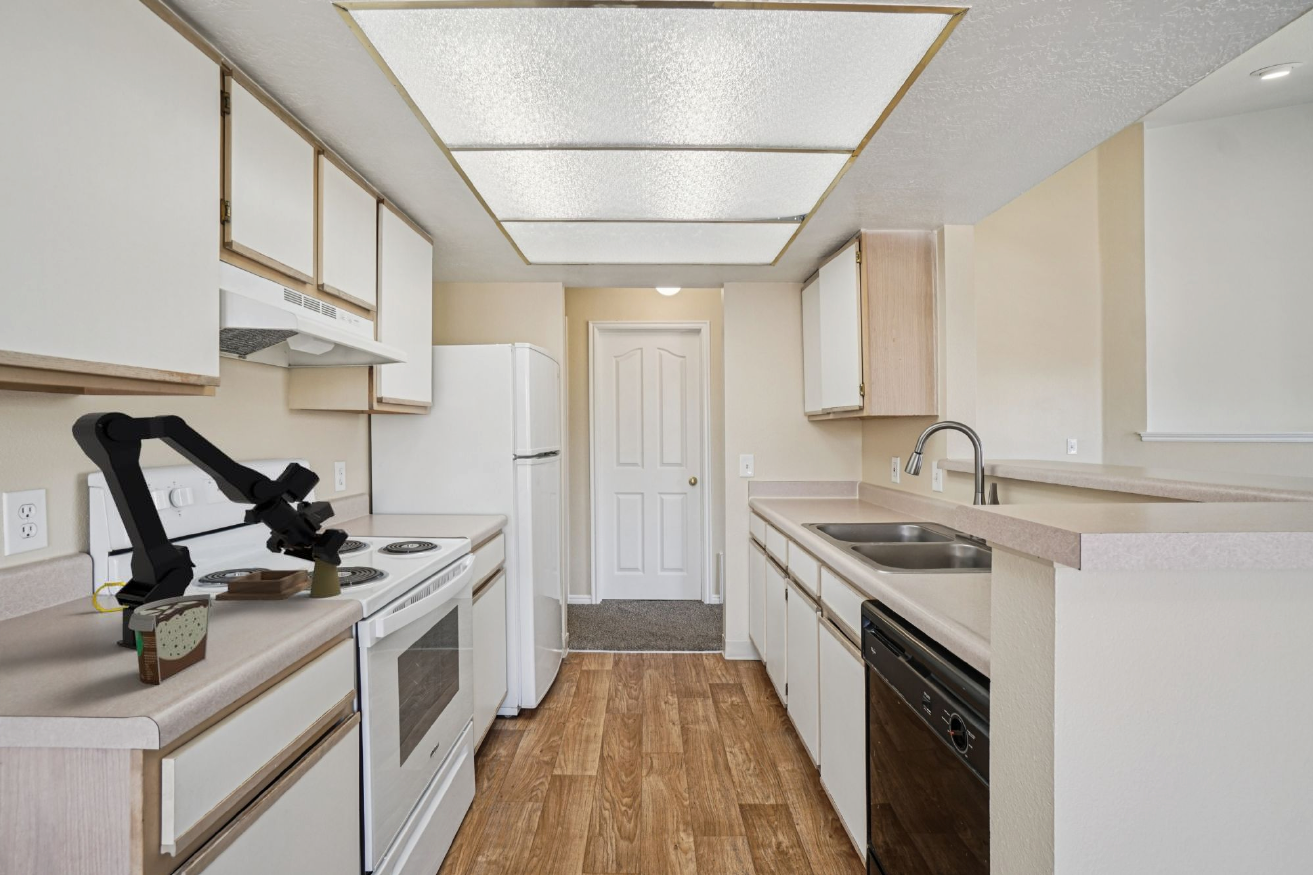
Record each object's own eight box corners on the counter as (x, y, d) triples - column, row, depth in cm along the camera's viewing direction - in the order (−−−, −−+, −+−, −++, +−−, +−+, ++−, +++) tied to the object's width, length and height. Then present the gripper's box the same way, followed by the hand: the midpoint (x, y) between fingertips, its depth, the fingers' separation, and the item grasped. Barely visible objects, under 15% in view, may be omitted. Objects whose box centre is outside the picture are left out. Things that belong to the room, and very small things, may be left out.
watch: (133, 608, 121) (136, 578, 121) (130, 611, 118) (133, 581, 119) (93, 610, 117) (96, 580, 118) (90, 614, 115) (93, 583, 115)
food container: (171, 657, 93) (171, 593, 93) (212, 656, 93) (212, 593, 93) (103, 690, 80) (103, 617, 80) (151, 689, 81) (151, 616, 81)
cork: (303, 596, 128) (303, 546, 128) (326, 589, 134) (326, 541, 134) (325, 598, 127) (325, 547, 127) (347, 591, 132) (347, 542, 132)
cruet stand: (283, 599, 126) (283, 582, 126) (215, 599, 126) (215, 583, 126) (317, 583, 140) (317, 568, 140) (257, 583, 140) (257, 569, 140)
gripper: (340, 491, 123) (383, 536, 133) (279, 488, 130) (324, 531, 140) (305, 534, 116) (353, 578, 126) (242, 529, 123) (293, 571, 133)
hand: (331, 563), depth 132 cm, fingers closed on cork, 5 cm apart
